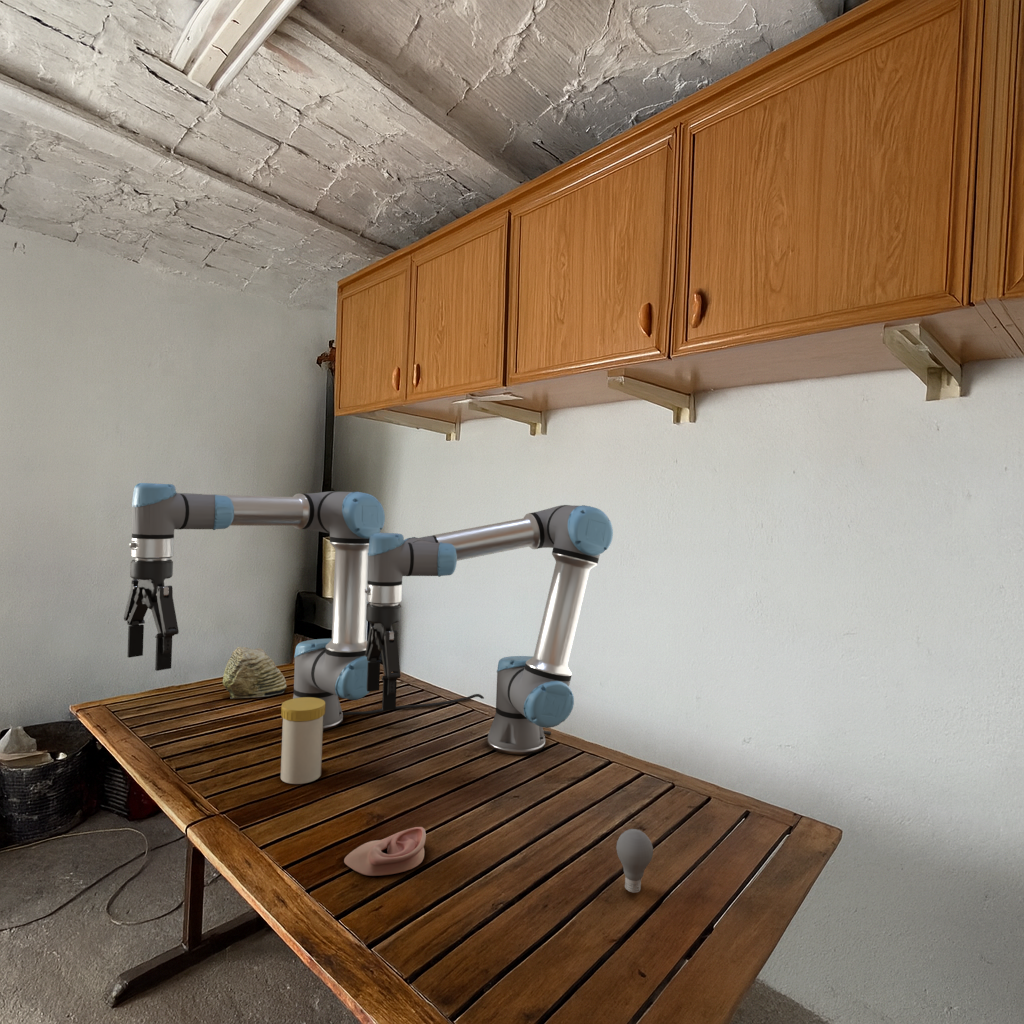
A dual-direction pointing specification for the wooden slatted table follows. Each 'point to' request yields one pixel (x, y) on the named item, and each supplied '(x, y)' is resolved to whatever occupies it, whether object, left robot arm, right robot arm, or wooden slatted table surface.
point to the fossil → (252, 674)
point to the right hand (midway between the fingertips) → (380, 699)
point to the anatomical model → (389, 853)
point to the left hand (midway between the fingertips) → (148, 662)
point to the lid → (303, 709)
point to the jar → (301, 751)
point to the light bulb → (634, 857)
